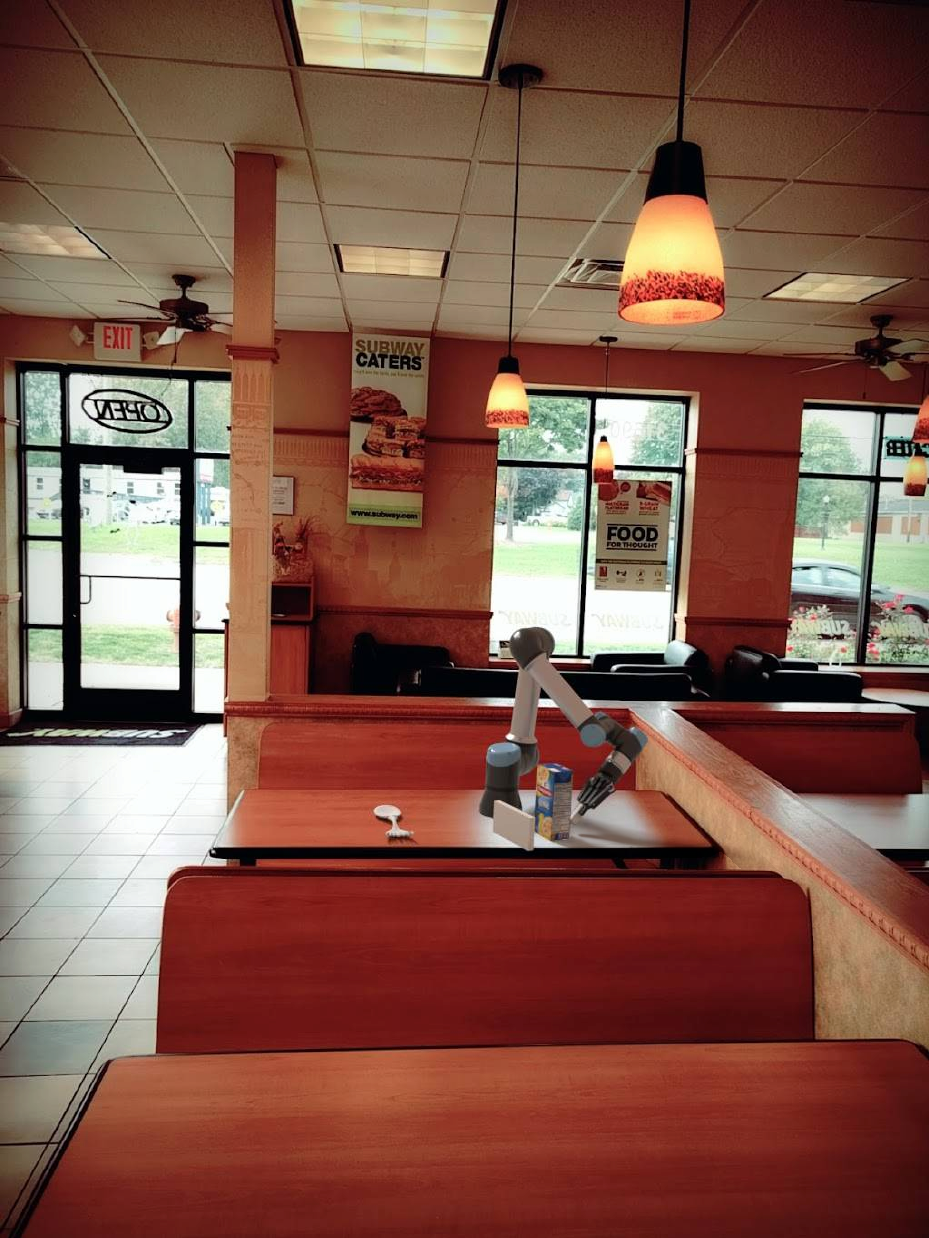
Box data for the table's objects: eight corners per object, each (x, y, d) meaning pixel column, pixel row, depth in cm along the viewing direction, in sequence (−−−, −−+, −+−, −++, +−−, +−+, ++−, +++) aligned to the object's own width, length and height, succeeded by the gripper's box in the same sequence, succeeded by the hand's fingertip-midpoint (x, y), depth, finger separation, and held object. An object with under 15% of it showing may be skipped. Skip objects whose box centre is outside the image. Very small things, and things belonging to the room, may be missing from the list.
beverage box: (550, 841, 262) (554, 772, 261) (533, 830, 272) (537, 763, 271) (569, 839, 265) (573, 771, 264) (551, 828, 275) (555, 763, 274)
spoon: (385, 843, 253) (385, 832, 253) (371, 812, 284) (372, 802, 284) (414, 842, 255) (415, 831, 255) (398, 811, 286) (398, 801, 286)
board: (492, 831, 269) (494, 800, 269) (497, 830, 270) (499, 800, 270) (527, 850, 252) (529, 818, 252) (533, 849, 253) (535, 817, 253)
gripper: (632, 779, 276) (590, 834, 269) (607, 769, 287) (565, 822, 280) (621, 764, 273) (578, 819, 266) (596, 755, 284) (553, 808, 277)
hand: (571, 821), depth 273 cm, fingers closed
